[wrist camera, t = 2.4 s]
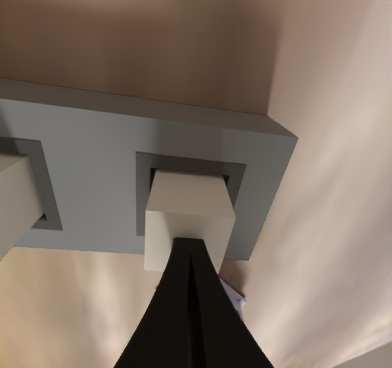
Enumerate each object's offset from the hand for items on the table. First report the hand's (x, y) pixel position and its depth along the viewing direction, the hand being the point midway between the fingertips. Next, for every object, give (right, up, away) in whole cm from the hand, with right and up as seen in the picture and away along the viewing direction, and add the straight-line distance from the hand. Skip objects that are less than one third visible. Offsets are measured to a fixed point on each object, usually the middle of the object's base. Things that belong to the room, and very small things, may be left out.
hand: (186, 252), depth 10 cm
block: (-6, +5, +7) cm, 10 cm away
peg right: (0, +2, +4) cm, 5 cm away
